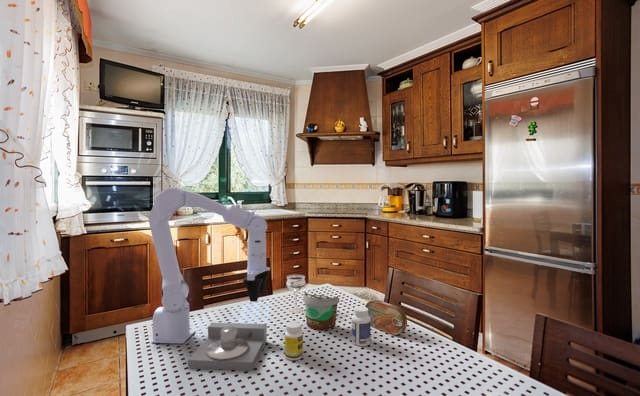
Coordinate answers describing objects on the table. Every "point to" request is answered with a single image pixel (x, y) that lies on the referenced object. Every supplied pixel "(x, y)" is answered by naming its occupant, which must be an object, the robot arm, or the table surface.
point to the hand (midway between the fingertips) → (257, 296)
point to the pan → (219, 354)
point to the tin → (386, 317)
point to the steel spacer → (228, 338)
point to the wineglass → (295, 288)
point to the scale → (256, 343)
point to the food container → (320, 311)
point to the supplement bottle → (294, 341)
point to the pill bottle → (361, 326)
